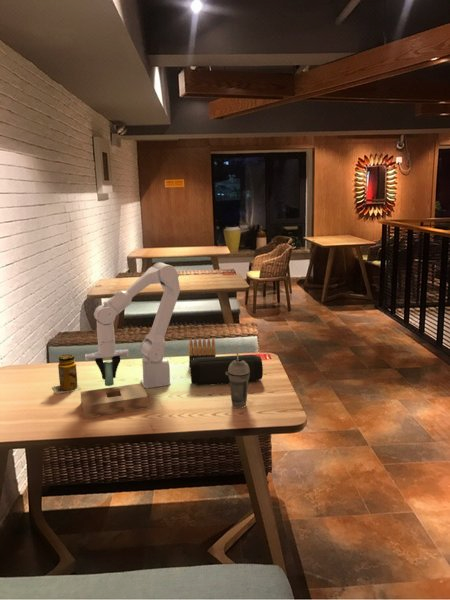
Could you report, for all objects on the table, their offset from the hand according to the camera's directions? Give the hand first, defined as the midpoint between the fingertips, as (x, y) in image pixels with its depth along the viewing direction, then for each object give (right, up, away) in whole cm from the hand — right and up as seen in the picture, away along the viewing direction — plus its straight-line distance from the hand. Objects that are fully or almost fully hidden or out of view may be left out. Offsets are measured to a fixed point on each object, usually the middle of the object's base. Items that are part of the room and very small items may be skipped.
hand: (108, 377), depth 172 cm
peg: (0, -2, +1) cm, 2 cm away
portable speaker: (+41, -3, +9) cm, 42 cm away
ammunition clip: (+31, 0, +25) cm, 40 cm away
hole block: (+4, -8, -10) cm, 13 cm away
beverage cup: (+45, -8, -11) cm, 47 cm away
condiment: (-16, -5, +5) cm, 18 cm away
